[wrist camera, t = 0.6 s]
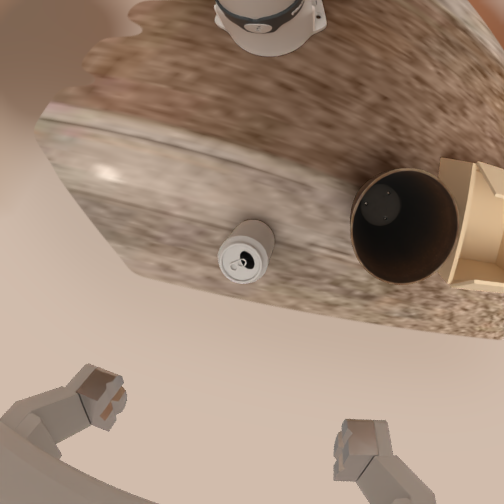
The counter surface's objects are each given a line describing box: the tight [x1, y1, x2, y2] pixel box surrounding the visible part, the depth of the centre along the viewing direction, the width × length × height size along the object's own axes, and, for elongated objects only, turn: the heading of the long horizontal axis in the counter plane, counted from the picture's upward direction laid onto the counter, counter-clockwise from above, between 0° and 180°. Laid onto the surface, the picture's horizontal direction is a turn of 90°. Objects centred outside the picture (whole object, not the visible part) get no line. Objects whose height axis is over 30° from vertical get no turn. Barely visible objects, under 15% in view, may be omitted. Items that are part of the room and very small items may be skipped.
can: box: [218, 220, 275, 284], centre depth 50 cm, size 8×8×12 cm
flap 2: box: [450, 280, 504, 293], centre depth 35 cm, size 7×17×1 cm
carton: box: [437, 157, 504, 284], centre depth 41 cm, size 18×18×12 cm
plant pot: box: [350, 168, 459, 285], centre depth 42 cm, size 15×15×16 cm
